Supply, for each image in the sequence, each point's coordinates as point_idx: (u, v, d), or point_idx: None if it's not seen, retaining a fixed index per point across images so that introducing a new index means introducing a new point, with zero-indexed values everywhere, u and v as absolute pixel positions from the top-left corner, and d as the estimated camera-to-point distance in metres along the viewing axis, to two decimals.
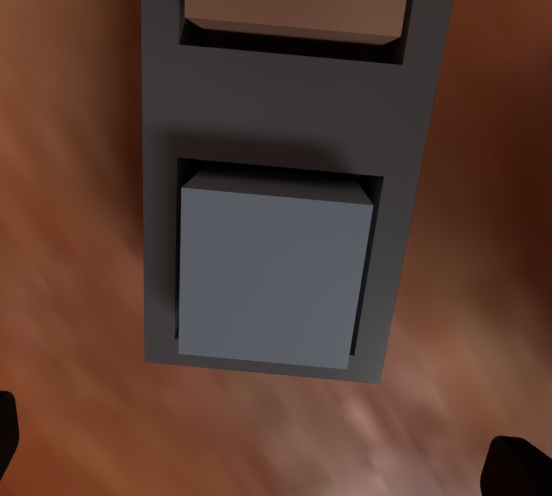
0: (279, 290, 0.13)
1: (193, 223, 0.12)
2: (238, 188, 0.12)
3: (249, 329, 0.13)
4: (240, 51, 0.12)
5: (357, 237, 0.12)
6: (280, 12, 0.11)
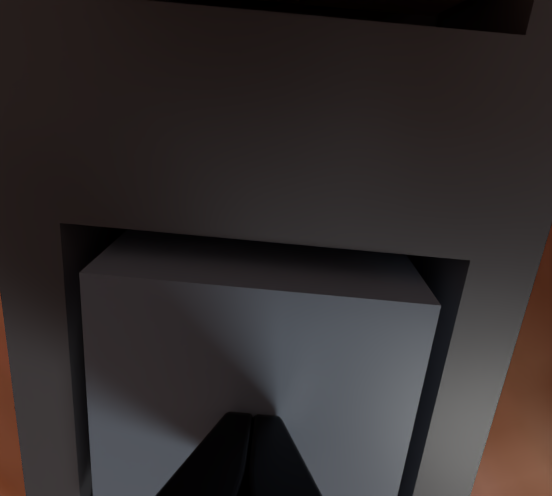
0: None
1: (106, 334, 0.07)
2: (190, 268, 0.07)
3: None
4: (176, 5, 0.06)
5: (408, 360, 0.07)
6: None
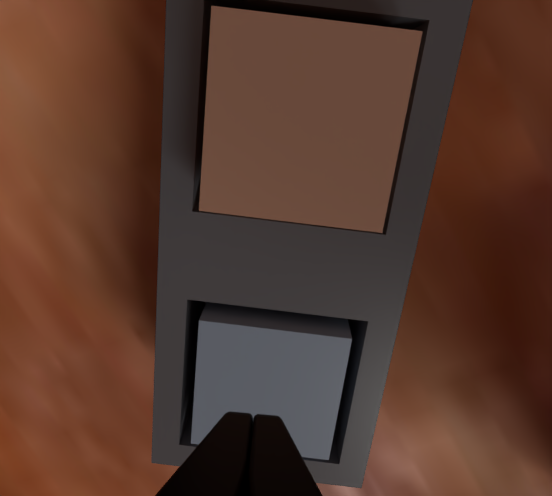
0: (275, 398, 0.16)
1: (207, 346, 0.15)
2: (244, 318, 0.15)
3: None
4: (245, 218, 0.14)
5: (339, 361, 0.15)
6: (280, 210, 0.12)
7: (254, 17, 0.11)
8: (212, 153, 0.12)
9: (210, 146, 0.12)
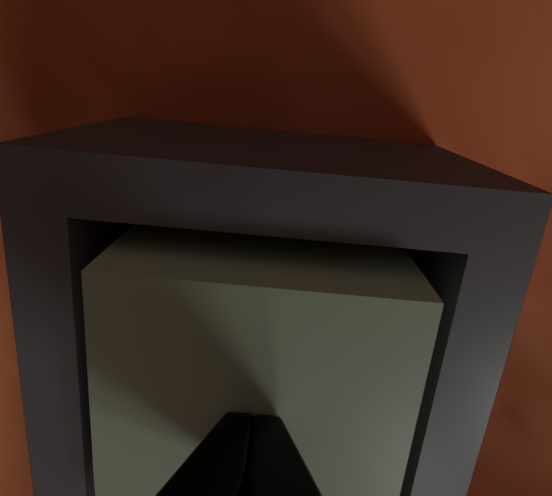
0: None
1: None
2: None
3: None
4: None
5: None
6: None
7: None
8: None
9: None
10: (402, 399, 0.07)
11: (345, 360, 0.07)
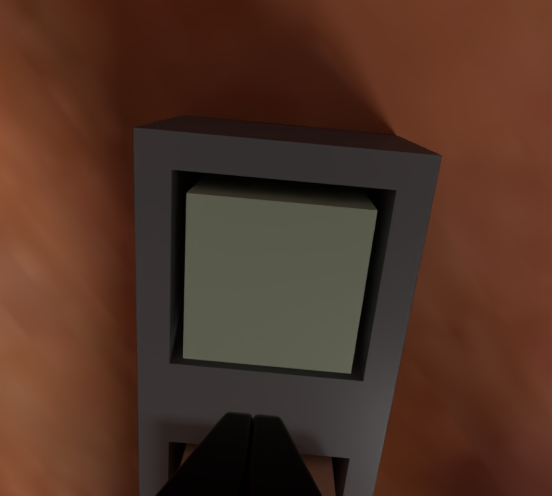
0: None
1: None
2: None
3: None
4: None
5: None
6: None
7: None
8: None
9: None
10: (357, 267, 0.13)
11: (325, 243, 0.12)
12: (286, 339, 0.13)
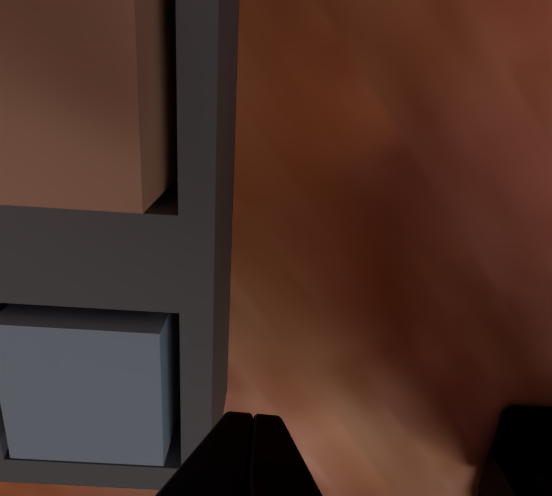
0: (90, 404, 0.14)
1: (2, 352, 0.14)
2: (44, 318, 0.14)
3: (69, 436, 0.15)
4: (17, 206, 0.12)
5: (150, 360, 0.14)
6: (21, 194, 0.11)
7: None
8: None
9: None
10: None
11: None
12: None
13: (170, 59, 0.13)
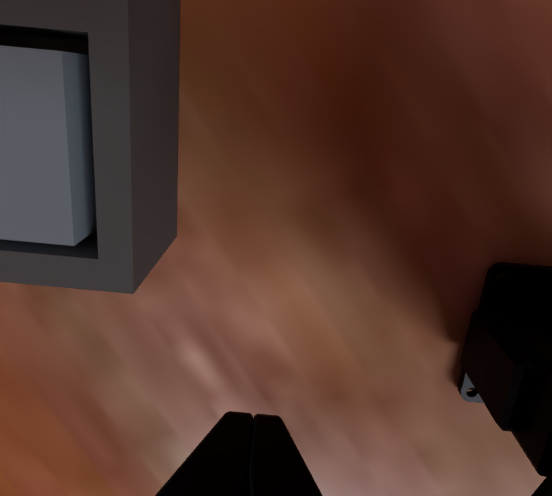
0: None
1: None
2: None
3: None
4: None
5: (52, 89, 0.11)
6: None
7: None
8: None
9: None
10: None
11: None
12: None
13: None
